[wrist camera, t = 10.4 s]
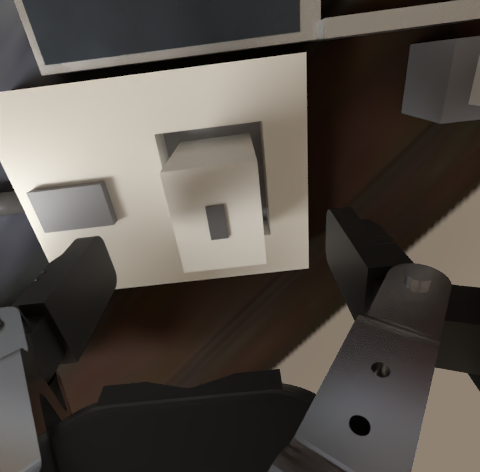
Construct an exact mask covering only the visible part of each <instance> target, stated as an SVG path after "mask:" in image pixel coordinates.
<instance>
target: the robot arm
mask: <svg viewBox="0 0 480 472" xmlns="http://www.w3.org/2000/svg"><path fill="white" fill-rule="evenodd" d="M326 257H327V262H328V265H329V267H330V269H331V272H332V274H333V276H334V278H335V280H336V282H337V284H338V286H339V289H340V291H341V293H342V295H343V297H344V299H345V301H346V303H347V306H348V308H349V310H350V312H351V314H352V316H353V318H354V320H355V322H354V324H353V326H352V328H351V329H350V331H349V333H348V335H347V337H346V339H345V341H344V343H343V345H342V347H341V348H340V350H339V352H338V354H337V356H336V358H335V360H334V362H333V364H332V366H331V367H330V369H329V371H328V373H327V375H326V377H325V379H324V381H323V383H322V385H321V387H320V388H319V390H318V392H317V394H315V393H312V392H311V391H308V390H306V389H303V388H301V387H297V386H293V385H288V384H283V383H282V381H281V374H280V369H275V370H265V371H254V372H244V373H235V374H232V375H229V376H226V377H223V378H220V379H217V380H214V381H211V382H208V383H205V384H202V385H199V386H196V387H193V388H181V387H175V386H169V385H162V384H156V383H150V382H141V383H131V384H120V385H110V386H104V387H103V389H102V392H101V395H100V397H99V400H98V402H97V403H94V404H92V405H89V406H87V407H85V408H83V409H81V410H79V411H77V412H75V413H73V414H72V412H71V409H70V406H69V403H68V400H67V397H66V393H65V390H64V387H63V384H62V381H61V378H60V376H59V374H58V372H57V371H56V370H57V368H58V366H59V364H67V363H77V362H78V361H79V359H80V357H81V355H82V353H83V351H84V349H85V347H86V345H87V343H88V341H89V339H90V337H91V335H92V333H93V331H94V329H95V327H96V325H97V324H98V322H99V320H100V318H101V316H102V314H103V312H104V310H105V308H106V306H107V304H108V302H109V300H110V298H111V296H112V294H113V292H114V290H115V288H116V284H117V275H116V271H115V269H114V266H113V263H112V261H111V258H110V256H109V253H108V250H107V248H106V245H105V243H104V241H103V239H102V238H101V237H100V236H92V237H84V238H77V239H75V240H74V241H73V242H72V244H71V245H70V246H69V247H68V248H67V249H66V250H65V252H64V253H63V254H62V255H60V256H59V257H57V258H56V259H54V260H53V261H51V262H50V263H49V264H48V265H47V266H46V268H45V269H44V270H43V271H42V274H39V275H38V276H37V278H36V279H35V280H34V282H32V283H31V284H30V285H29V286H28V288H27V289H26V290H25V291H24V292H23V293H22V294H21V295H20V296H19V298H18V299H17V300H16V301H15V302H14V303H13V304H12V305H11V306H10V307H2V308H0V472H411V471H412V466H413V462H414V457H415V453H416V449H417V444H418V440H419V435H420V431H421V426H422V422H423V417H424V413H425V409H426V404H427V400H428V395H429V391H430V386H431V381H432V377H433V373H434V368H435V367H436V368H442V369H447V370H453V371H459V372H464V373H468V375H469V376H470V377H471V379H472V380H473V382H474V383H475V385H476V386H477V388H478V389H479V391H480V288H478V287H468V286H459V285H452V284H451V282H450V280H449V278H448V277H447V276H445V275H444V274H443V273H442V272H440V271H438V270H436V269H434V268H432V267H429V266H426V265H421V264H414V263H413V262H412V261H411V259H410V258H409V257H408V256H407V255H406V254H405V253H404V252H403V250H402V249H401V248H400V247H399V246H398V245H397V244H396V243H395V242H394V240H393V239H392V238H391V237H390V236H389V235H387V233H386V231H385V230H384V229H383V228H382V227H381V226H380V225H378V224H376V223H374V222H372V221H370V220H368V219H364V220H361V219H360V218H359V217H358V216H357V214H356V213H355V212H354V211H353V209H352V208H351V207H346V208H337V209H329V210H328V211H327V214H326Z"/></svg>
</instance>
